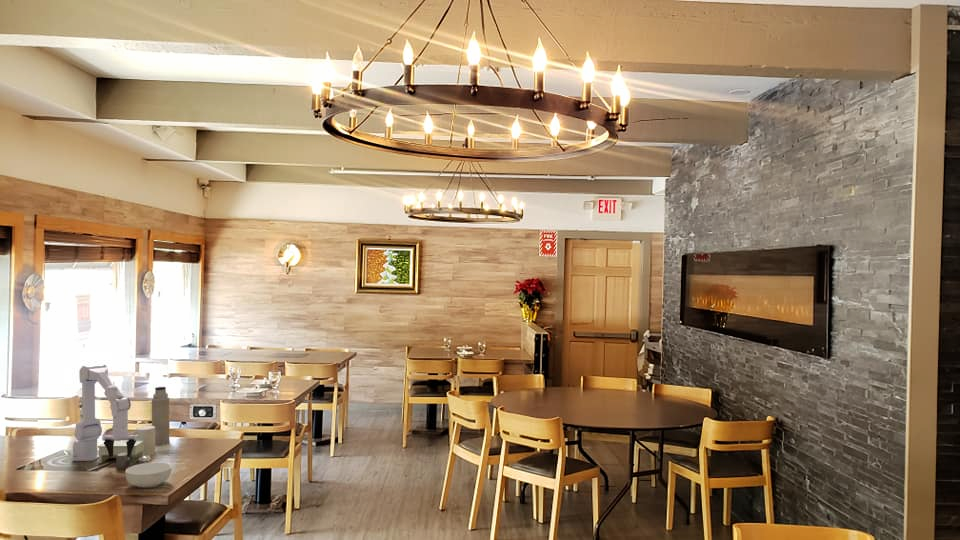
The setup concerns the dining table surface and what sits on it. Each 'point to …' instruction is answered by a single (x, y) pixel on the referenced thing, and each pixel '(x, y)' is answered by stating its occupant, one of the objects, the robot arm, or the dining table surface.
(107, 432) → the decorative fruit
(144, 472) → the cereal bowl
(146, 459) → the token
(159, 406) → the thermos bottle
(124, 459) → the dark grey long block
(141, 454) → the pale green rectangular block
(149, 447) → the beige cylinder
